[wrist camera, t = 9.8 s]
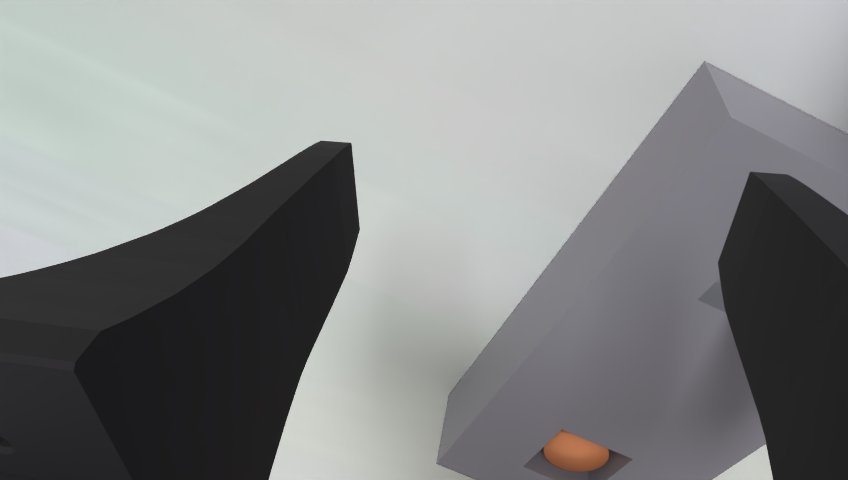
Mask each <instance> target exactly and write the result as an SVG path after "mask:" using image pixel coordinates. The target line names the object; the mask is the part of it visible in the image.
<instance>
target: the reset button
mask: <svg viewBox="0 0 848 480" xmlns="http://www.w3.org/2000/svg"><path fill="white" fill-rule="evenodd" d="M544 454H545V457H546V458H547V460H548V461H549V462H550V463H552V464H553V465H555V466H557V467H559V468H561V469H564V470H568V471H574V472H585V471H592V470H595V469H598V468H600V467H601V466H603V465H604V464H605V463H606V462H607V460H608V458H609V449H608V448H605V447H603V446H600V445H598V444H596V443H593V442H591V441H589V440H586V439H584V438H582V437H579V436H577V435H574V434H572V433H570V432H567V431H565V430H563V429H562V430H561V431H560V432H559V433H558V434H557V435H556V436H555V437H553V438H552V439H551V440H550V441H549V442H548V443H547V444H546V445H545V446H544Z"/></svg>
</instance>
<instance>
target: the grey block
mask: <svg viewBox="0 0 848 480" xmlns="http://www.w3.org/2000/svg"><path fill="white" fill-rule="evenodd" d="M750 172H762V173H776V174H788V175H790V176H792V177H793V178H795V179H797V180H798V181H800V182H802V183H803V184H805V185H806V186H808V187H809V188H811V189H812V190H814V191H815V192H817V193H818V194H819V195H821V196H822V197H824V198H825V199H826V200H828V201H829V202H831V203H832V204H833V205H835V206H836V207H838V208H839V209H840V210H842V211H843V212H845V213H846V214H847V215H848V134H846V133H844V132H842V131H840V130H838V129H836V128H834V127H832V126H830V125H829V124H827V123H825V122H823V121H821V120H819V119H817V118H815V117H813V116H811V115H809V114H807V113H805V112H803V111H801V110H799V109H797V108H795V107H793V106H791V105H789V104H787V103H785V102H783V101H782V100H780V99H778V98H776V97H774V96H772V95H770V94H768V93H766V92H764V91H762V90H760V89H758V88H756V87H754V86H752V85H750V84H748V83H746V82H744V81H742V80H740V79H738V78H736V77H735V76H733V75H731V74H729V73H727V72H725V71H723V70H721V69H719V68H717V67H715V66H713V65H711V64H709V63H707V62H705V61H704V63H703V64H702V65H701V66H700V68H699V69H698V70H697V72H696V73H695V74H694V76H693V77H692V78H691V80H690V81H689V82H688V83H687V85H686V86H685V87H684V89H683V90H682V91H681V93H680V94H679V95H678V97H677V98H676V99H675V100H674V102H673V103H672V104H671V106H670V107H669V108H668V110H667V111H666V112H665V114H664V115H663V116H662V117H661V119H660V120H659V121H658V123H657V124H656V125H655V127H654V128H653V129H652V131H651V132H650V133H649V134H648V136H647V137H646V138H645V140H644V141H643V142H642V144H641V145H640V146H639V148H638V149H637V150H636V151H635V153H634V154H633V155H632V157H631V158H630V159H629V161H628V162H627V163H626V164H625V166H624V167H623V168H622V170H621V171H620V172H619V174H618V175H617V176H616V178H615V179H614V180H613V181H612V183H611V184H610V185H609V187H608V188H607V189H606V191H605V192H604V193H603V195H602V196H601V197H600V198H599V200H598V201H597V202H596V204H595V205H594V206H593V208H592V209H591V210H590V212H589V213H588V214H587V215H586V217H585V218H584V219H583V221H582V222H581V223H580V225H579V226H578V227H577V229H576V230H575V231H574V232H573V234H572V235H571V236H570V238H569V239H568V240H567V242H566V243H565V244H564V246H563V247H562V248H561V249H560V251H559V252H558V253H557V255H556V256H555V257H554V259H553V260H552V261H551V262H550V264H549V265H548V266H547V268H546V269H545V270H544V272H543V273H542V274H541V276H540V277H539V278H538V279H537V281H536V282H535V283H534V285H533V286H532V287H531V289H530V290H529V291H528V293H527V294H526V295H525V296H524V298H523V299H522V300H521V302H520V303H519V304H518V306H517V307H516V308H515V310H514V311H513V312H512V313H511V315H510V316H509V317H508V319H507V320H506V321H505V323H504V324H503V325H502V327H501V328H500V329H499V330H498V332H497V333H496V334H495V336H494V337H493V338H492V340H491V341H490V342H489V344H488V345H487V346H486V347H485V349H484V350H483V351H482V353H481V354H480V355H479V357H478V358H477V359H476V361H475V362H474V363H473V364H472V366H471V367H470V368H469V370H468V371H467V372H466V374H465V375H464V376H463V377H462V379H461V380H460V381H459V383H458V384H457V385H456V387H455V388H454V389H453V391H452V392H451V393H450V394H449V397H448V402H447V408H446V414H445V419H444V425H443V430H442V436H441V441H440V447H439V452H438V458H437V463H436V464H438V465H441V466H443V467H446V468H448V469H451V470H453V471H456V472H458V473H461V474H463V475H466V476H468V477H471V478H473V479H475V480H712V479H714V478H715V477H717V476H718V475H720V474H721V473H723V472H724V471H726V470H727V469H729V468H730V467H732V466H733V465H735V464H736V463H738V462H739V461H741V460H742V459H744V458H745V457H747V456H748V455H750V454H751V453H753V452H754V451H756V450H757V449H759V448H760V447H762V446H763V445H765V444H766V440H765V436H764V432H763V428H762V425H761V421H760V417H759V414H758V411H757V408H756V405H755V402H754V399H753V396H752V392H751V389H750V386H749V383H748V380H747V377H746V374H745V371H744V368H743V365H742V362H741V359H740V356H739V353H738V350H737V347H736V344H735V340H734V337H733V334H732V331H731V328H730V325H729V321H728V318H727V315H726V311H725V307H724V301H723V295H722V290H721V282H720V275H719V268H718V261H719V258H720V255H721V252H722V249H723V247H724V244H725V241H726V238H727V235H728V232H729V230H730V227H731V224H732V221H733V218H734V216H735V213H736V210H737V207H738V204H739V201H740V199H741V196H742V193H743V190H744V187H745V185H746V182H747V179H748V176H749V173H750ZM562 429H563V430H565V431H567V432H570V433H572V434H574V435H577V436H579V437H582V438H584V439H586V440H589V441H591V442H593V443H596V444H598V445H600V446H603V447H605V448H608V449H609V458H608V460H607V462H606V463H605V464H604V465H603V466H601V467H600V468H598V469H595V470H592V471H585V472H574V471H568V470H564V469H561V468H559V467H557V466H555V465H553V464H552V463H550V462H549V461H548V460H547V458H546V457H545V454H544V446H545V445H546V444H547V443H548V442H549V441H550V440H551V439H552V438H553V437H555V436H556V435H557V434H558V433H559V432H560V431H561V430H562Z"/></svg>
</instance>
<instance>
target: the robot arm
mask: <svg viewBox="0 0 848 480" xmlns="http://www.w3.org/2000/svg"><path fill="white" fill-rule="evenodd" d="M359 230H360V228H359V217H358V207H357V197H356V186H355V176H354V166H353V156H352V145H351V143H344V142H330V141H320V142H318V143H316V144H314V145H312V146H310V147H308V148H307V149H305V150H303V151H302V152H300V153H298V154H297V155H295V156H294V157H292V158H290V159H289V160H287V161H286V162H284V163H283V164H281V165H279V166H278V167H276V168H275V169H273V170H271V171H270V172H268V173H267V174H265V175H263V176H262V177H260V178H258V179H257V180H255V181H254V182H252V183H250V184H249V185H247V186H245V187H243V188H242V189H240V190H238V191H236V192H234V193H233V194H231V195H229V196H227V197H226V198H224V199H222V200H220V201H218V202H217V203H215V204H213V205H211V206H210V207H208V208H206V209H204V210H202V211H200V212H198V213H196V214H194V215H192V216H189V217H187V218H185V219H183V220H181V221H179V222H176V223H174V224H172V225H169V226H167V227H165V228H163V229H160V230H158V231H156V232H153V233H151V234H148V235H145V236H142V237H140V238H137V239H134V240H131V241H129V242H126V243H123V244H120V245H118V246H115V247H112V248H109V249H106V250H104V251H101V252H98V253H95V254H91V255H88V256H85V257H81V258H78V259H75V260H71V261H68V262H64V263H61V264H57V265H53V266H49V267H46V268H42V269H38V270H34V271H30V272H26V273H22V274H17V275H13V276H8V277H3V278H0V480H269V476H270V472H271V469H272V465H273V462H274V459H275V456H276V452H277V449H278V446H279V442H280V439H281V436H282V432H283V429H284V426H285V422H286V419H287V416H288V413H289V410H290V407H291V404H292V401H293V398H294V395H295V392H296V389H297V386H298V383H299V380H300V377H301V374H302V372H303V369H304V367H305V364H306V362H307V359H308V357H309V355H310V353H311V351H312V348H313V346H314V344H315V342H316V340H317V337H318V335H319V333H320V331H321V329H322V327H323V324H324V322H325V320H326V318H327V316H328V314H329V311H330V309H331V307H332V305H333V303H334V301H335V298H336V296H337V294H338V292H339V289H340V287H341V285H342V283H343V281H344V278H345V276H346V274H347V271H348V268H349V265H350V262H351V259H352V255H353V252H354V248H355V245H356V241H357V237H358V234H359ZM718 268H719V275H720V282H721V290H722V295H723V301H724V307H725V311H726V315H727V318H728V321H729V325H730V328H731V331H732V334H733V337H734V340H735V344H736V347H737V350H738V353H739V356H740V359H741V362H742V365H743V368H744V371H745V374H746V377H747V380H748V383H749V386H750V389H751V392H752V396H753V399H754V402H755V405H756V408H757V411H758V414H759V417H760V421H761V425H762V428H763V432H764V436H765V440H766V445H767V450H768V455H769V460H770V465H771V470H772V475H773V480H848V215H847V214H846V213H845V212H843V211H842V210H840V209H839V208H838V207H836V206H835V205H833V204H832V203H831V202H829V201H828V200H826V199H825V198H824V197H822V196H821V195H819V194H818V193H817V192H815V191H814V190H812V189H811V188H809V187H808V186H806V185H805V184H803V183H802V182H800V181H798V180H797V179H795V178H793V177H792V176H790V175H788V174H776V173H762V172H750V173H749V176H748V179H747V182H746V185H745V187H744V190H743V193H742V196H741V199H740V201H739V204H738V207H737V210H736V213H735V216H734V218H733V221H732V224H731V227H730V230H729V232H728V235H727V238H726V241H725V244H724V247H723V249H722V252H721V255H720V258H719V261H718Z"/></svg>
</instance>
